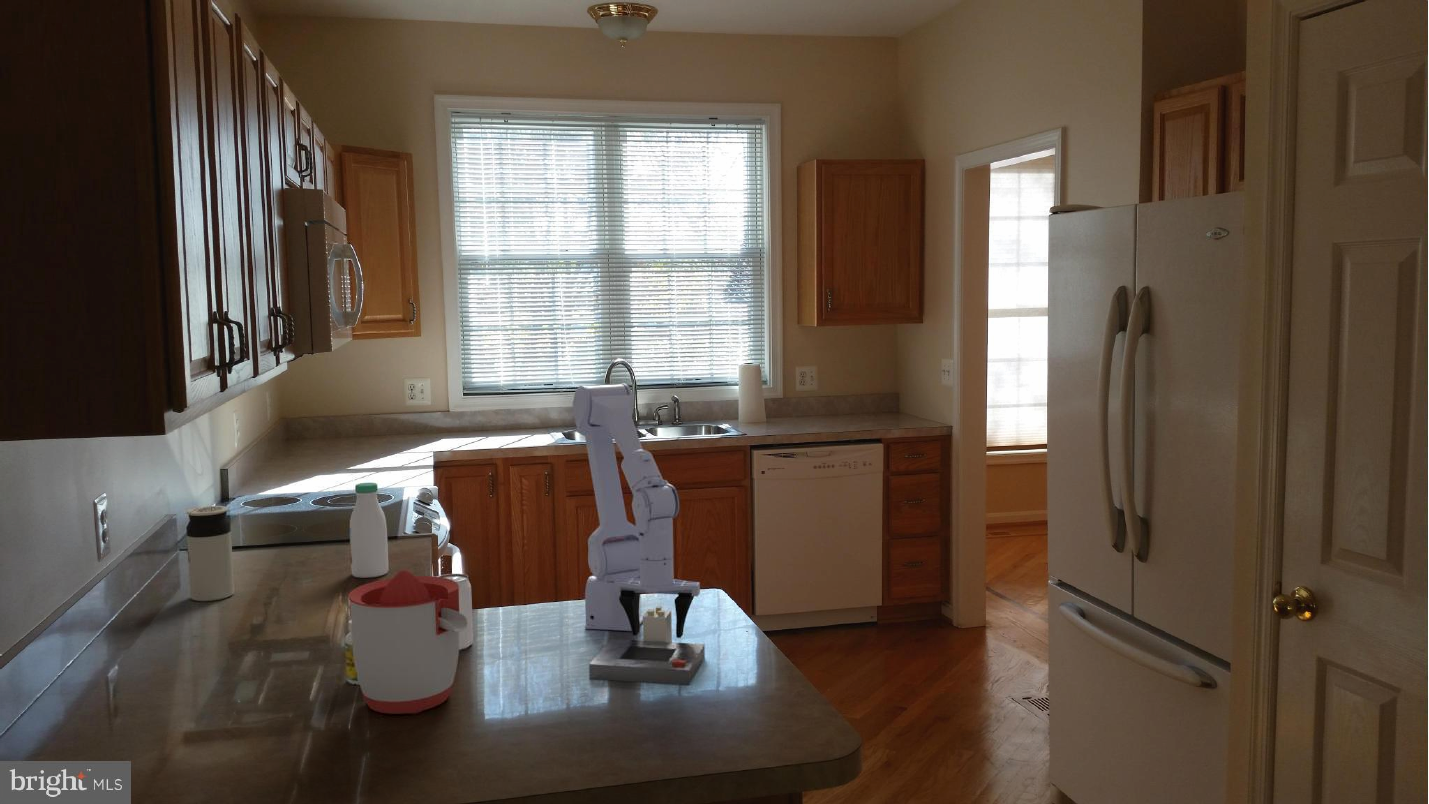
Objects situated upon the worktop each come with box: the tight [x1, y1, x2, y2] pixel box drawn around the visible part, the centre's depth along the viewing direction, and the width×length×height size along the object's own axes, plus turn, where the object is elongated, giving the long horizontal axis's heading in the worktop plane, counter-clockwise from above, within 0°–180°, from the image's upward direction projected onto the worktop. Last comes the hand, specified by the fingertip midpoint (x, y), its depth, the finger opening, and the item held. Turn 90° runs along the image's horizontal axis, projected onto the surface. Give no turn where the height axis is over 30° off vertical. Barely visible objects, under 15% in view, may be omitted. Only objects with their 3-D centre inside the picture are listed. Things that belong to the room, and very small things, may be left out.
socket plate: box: [588, 638, 706, 686], centre depth 164 cm, size 16×12×3 cm
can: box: [437, 573, 474, 651], centre depth 176 cm, size 6×6×12 cm
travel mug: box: [185, 505, 235, 602], centre depth 207 cm, size 8×8×18 cm
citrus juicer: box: [348, 569, 467, 715], centre depth 151 cm, size 16×17×20 cm
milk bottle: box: [349, 482, 389, 579], centre depth 223 cm, size 8×8×20 cm
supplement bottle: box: [344, 619, 360, 686], centre depth 160 cm, size 5×5×10 cm
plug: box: [642, 605, 673, 642], centre depth 174 cm, size 4×4×7 cm
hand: (657, 634), depth 174 cm, fingers open, 7 cm apart
